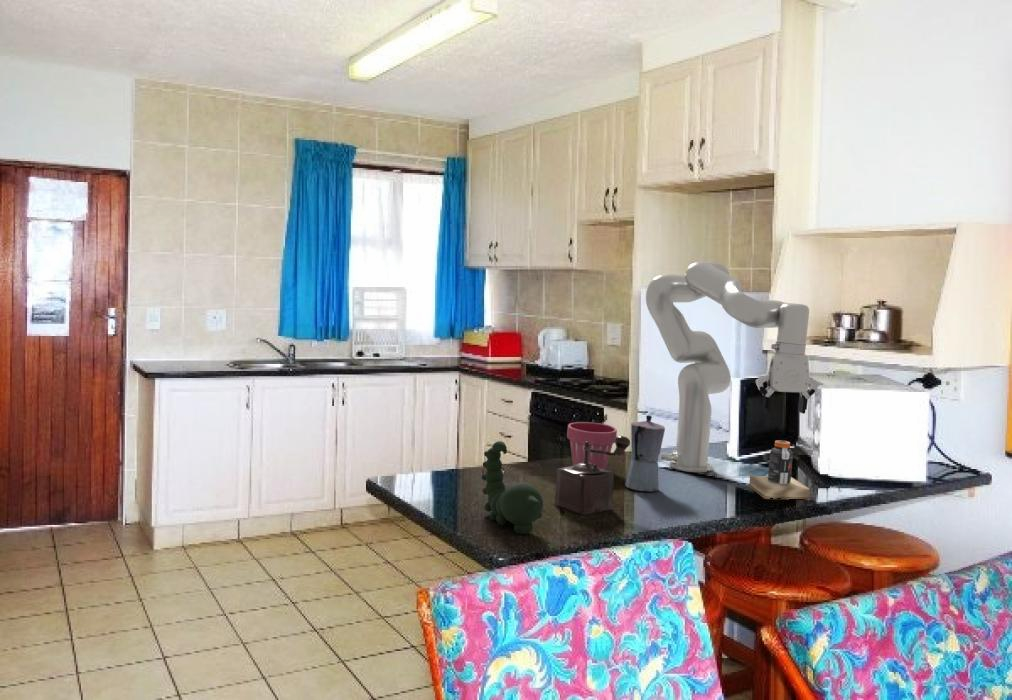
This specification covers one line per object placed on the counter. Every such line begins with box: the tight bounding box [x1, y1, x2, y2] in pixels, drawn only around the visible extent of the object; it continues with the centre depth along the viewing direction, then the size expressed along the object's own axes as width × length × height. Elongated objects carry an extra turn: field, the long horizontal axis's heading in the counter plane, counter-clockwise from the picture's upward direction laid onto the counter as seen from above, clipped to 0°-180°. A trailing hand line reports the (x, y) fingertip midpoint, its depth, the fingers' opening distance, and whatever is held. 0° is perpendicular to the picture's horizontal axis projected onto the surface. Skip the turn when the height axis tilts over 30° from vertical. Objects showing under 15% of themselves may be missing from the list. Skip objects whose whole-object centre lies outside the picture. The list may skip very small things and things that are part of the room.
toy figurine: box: [481, 440, 544, 535], centre depth 199 cm, size 9×19×25 cm
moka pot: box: [624, 414, 666, 492], centre depth 236 cm, size 10×15×20 cm, turn 155°
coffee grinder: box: [554, 435, 631, 516], centre depth 217 cm, size 16×11×18 cm
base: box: [747, 475, 811, 500], centre depth 240 cm, size 13×13×3 cm
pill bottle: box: [767, 439, 794, 484], centre depth 239 cm, size 6×6×11 cm
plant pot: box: [566, 421, 618, 470], centre depth 253 cm, size 14×14×13 cm
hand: (784, 411), depth 239 cm, fingers open, 9 cm apart
